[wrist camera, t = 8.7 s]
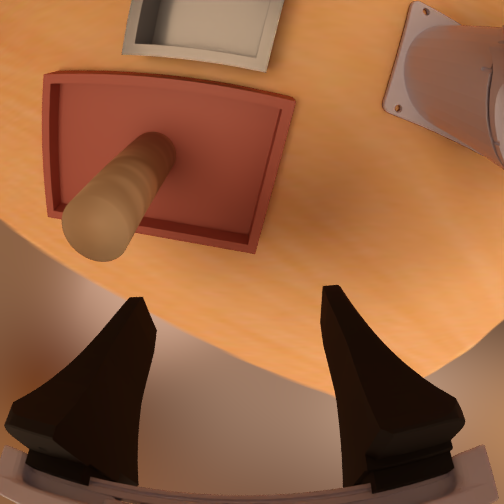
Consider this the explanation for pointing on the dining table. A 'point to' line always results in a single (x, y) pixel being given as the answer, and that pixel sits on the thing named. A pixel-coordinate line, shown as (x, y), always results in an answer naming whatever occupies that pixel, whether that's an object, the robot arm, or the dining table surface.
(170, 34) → the grey open box
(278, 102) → the tray
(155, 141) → the dowel
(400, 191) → the dining table surface
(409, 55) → the robot arm
